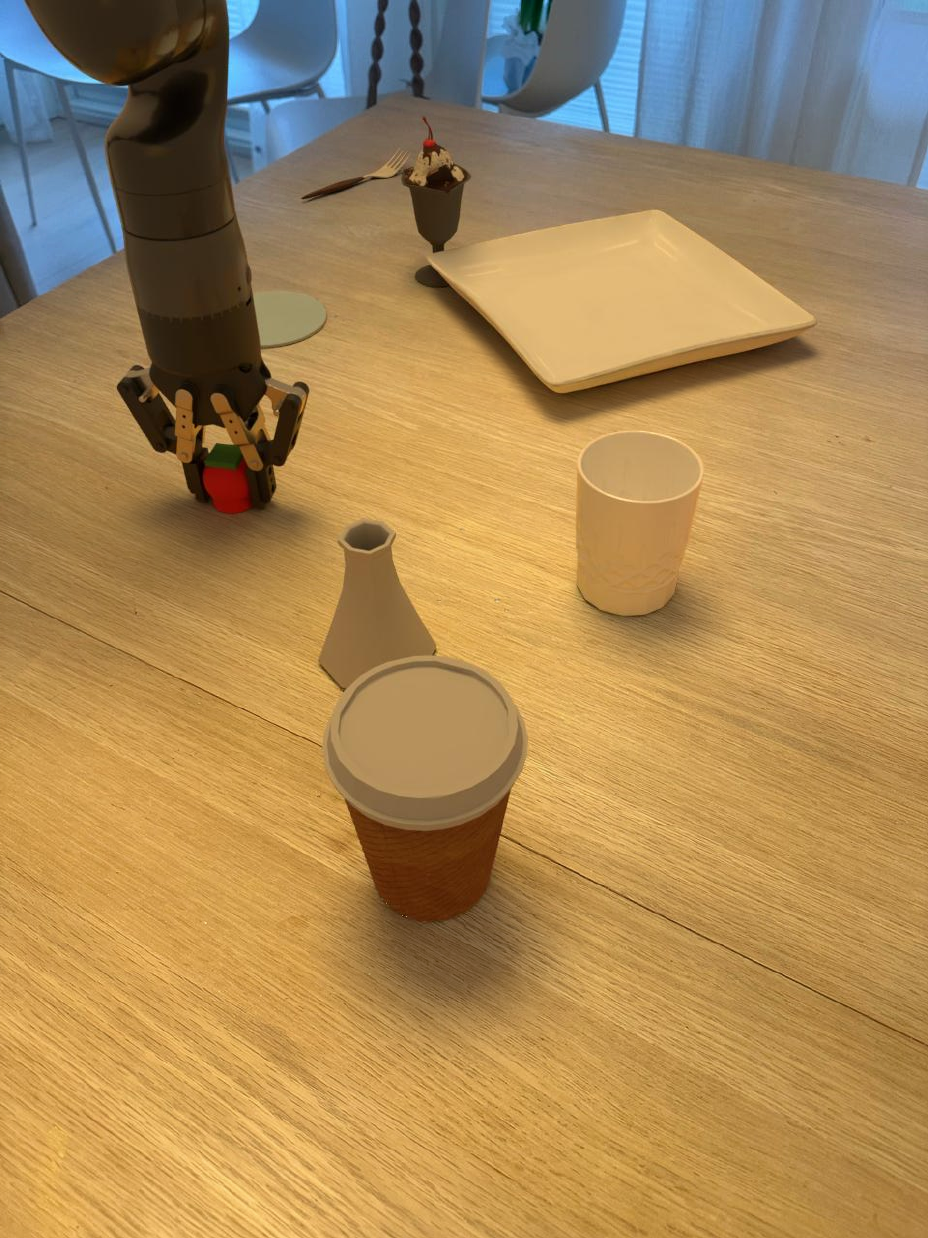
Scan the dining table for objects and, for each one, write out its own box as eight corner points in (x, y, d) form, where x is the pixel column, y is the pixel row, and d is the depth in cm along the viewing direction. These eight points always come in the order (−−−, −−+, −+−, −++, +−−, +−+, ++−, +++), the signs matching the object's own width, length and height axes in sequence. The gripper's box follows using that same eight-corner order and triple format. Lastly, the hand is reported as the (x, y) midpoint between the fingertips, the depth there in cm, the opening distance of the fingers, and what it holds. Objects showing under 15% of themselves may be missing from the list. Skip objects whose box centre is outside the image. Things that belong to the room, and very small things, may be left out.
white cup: (681, 629, 69) (703, 508, 62) (562, 616, 70) (571, 495, 64) (684, 554, 75) (704, 435, 68) (573, 542, 76) (583, 424, 69)
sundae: (424, 256, 111) (418, 105, 100) (482, 268, 109) (482, 115, 98) (394, 282, 106) (385, 127, 96) (453, 295, 104) (450, 138, 94)
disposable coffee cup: (335, 953, 53) (309, 808, 44) (349, 798, 60) (329, 648, 51) (525, 951, 53) (534, 806, 44) (517, 797, 60) (524, 647, 51)
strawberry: (200, 513, 79) (189, 465, 76) (219, 482, 82) (209, 435, 79) (250, 519, 78) (241, 471, 75) (268, 488, 81) (260, 440, 78)
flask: (298, 666, 67) (277, 545, 60) (369, 603, 72) (357, 483, 65) (387, 714, 64) (377, 592, 57) (456, 645, 69) (453, 524, 62)
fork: (295, 199, 122) (293, 182, 121) (399, 164, 130) (399, 147, 129) (308, 206, 121) (306, 188, 119) (413, 169, 129) (413, 152, 127)
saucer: (193, 342, 98) (193, 339, 98) (235, 288, 106) (235, 286, 106) (306, 352, 96) (306, 350, 96) (340, 298, 104) (340, 295, 104)
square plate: (549, 423, 87) (551, 382, 85) (423, 287, 106) (421, 249, 103) (814, 353, 95) (824, 313, 93) (655, 238, 114) (659, 201, 111)
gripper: (64, 303, 67) (126, 518, 78) (277, 322, 64) (309, 541, 76) (115, 252, 72) (167, 461, 84) (314, 269, 70) (338, 480, 82)
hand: (234, 498), depth 80 cm, fingers closed on strawberry, 4 cm apart
